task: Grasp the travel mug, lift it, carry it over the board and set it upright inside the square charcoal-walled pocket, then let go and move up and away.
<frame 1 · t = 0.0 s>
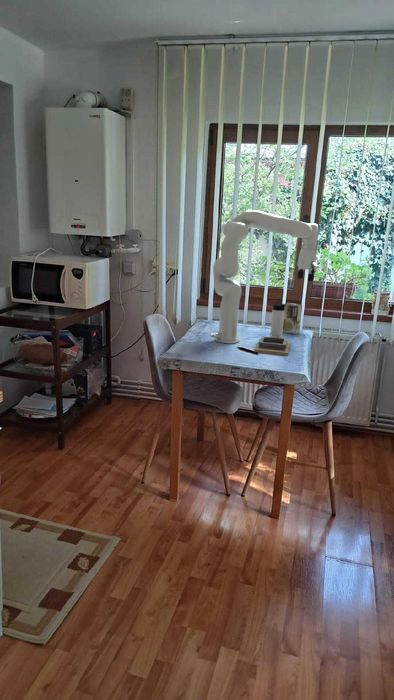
hand: (305, 279, 264), 31 cm above the table, tool pointing down, fingers open, 9 cm apart
travel mug: (276, 340, 260), on the table
coffee box: (290, 332, 280), on the table
pocket board: (272, 348, 245), on the table
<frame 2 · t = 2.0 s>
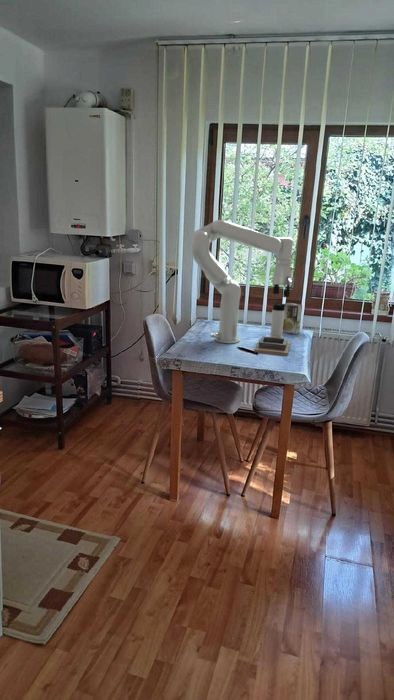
hand: (280, 295, 254), 24 cm above the table, tool pointing down, fingers open, 9 cm apart
nothing on the table moved.
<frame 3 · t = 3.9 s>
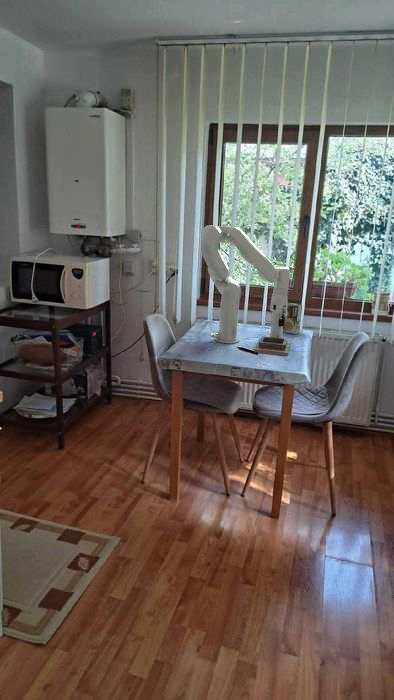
hand: (277, 324, 258), 9 cm above the table, tool pointing down, fingers closed on travel mug, 6 cm apart
travel mug: (276, 340, 260), on the table, touching gripper
everything else where it was.
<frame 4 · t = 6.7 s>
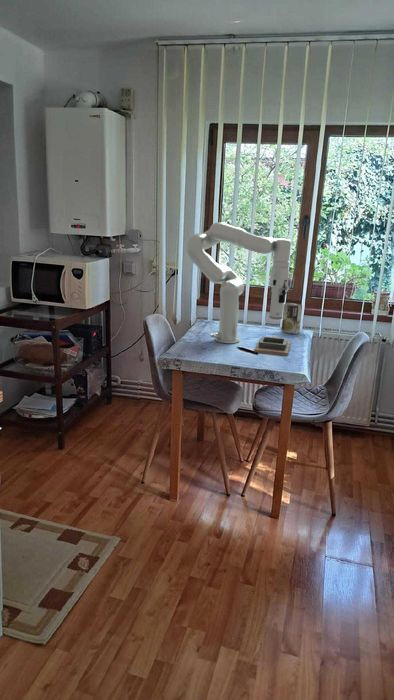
hand: (277, 301, 241), 23 cm above the table, tool pointing down, fingers closed on travel mug, 6 cm apart
travel mug: (275, 318, 244), point 15 cm above the table, touching gripper
everything else where it was.
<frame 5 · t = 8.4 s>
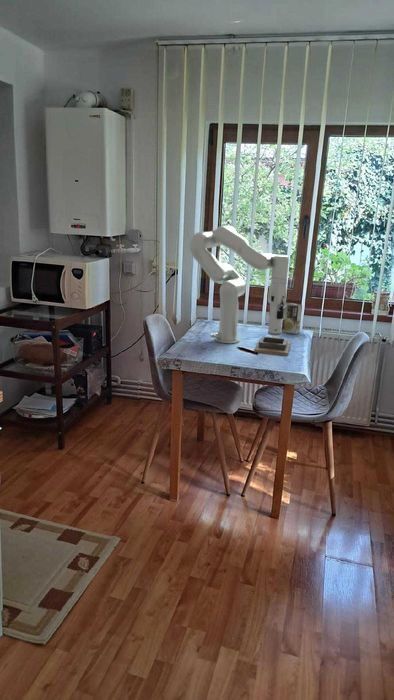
hand: (275, 317, 240), 16 cm above the table, tool pointing down, fingers closed on travel mug, 6 cm apart
travel mug: (274, 334, 243), point 7 cm above the table, touching gripper
everything else where it was.
when the fingers open (11 cm above the table, at t = 9.8 s): travel mug stays where it is, resting on pocket board.
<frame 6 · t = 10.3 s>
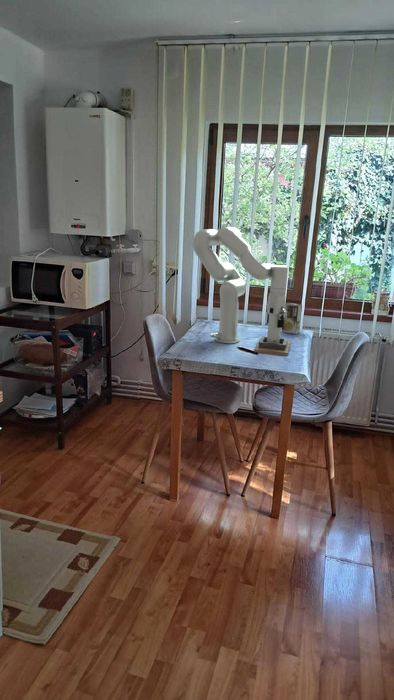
hand: (274, 325, 242), 12 cm above the table, tool pointing down, fingers open, 9 cm apart
travel mug: (273, 345, 244), point 1 cm above the table, touching pocket board
everything else where it was.
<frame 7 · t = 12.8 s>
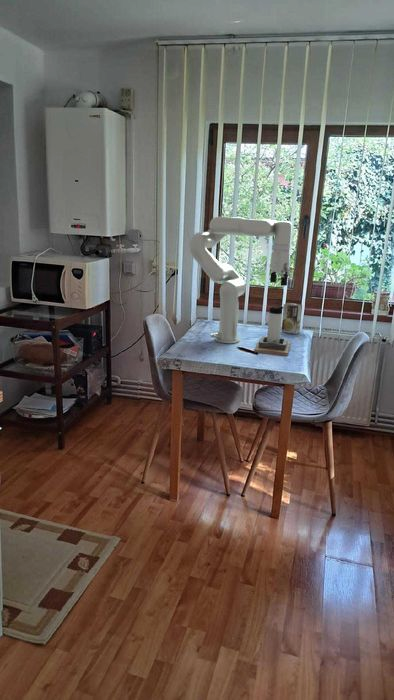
hand: (278, 283, 236), 32 cm above the table, tool pointing down, fingers open, 9 cm apart
nothing on the table moved.
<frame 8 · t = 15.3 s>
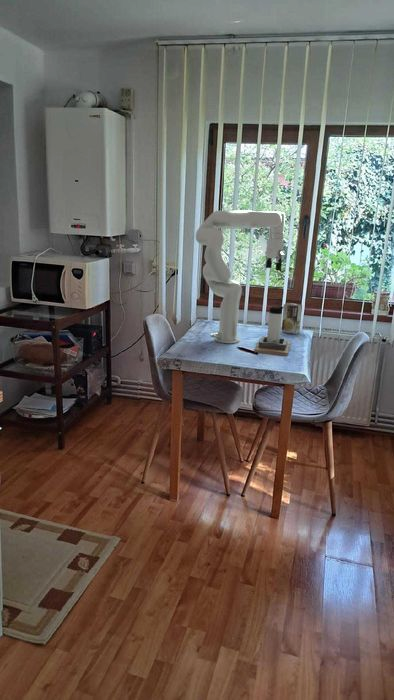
hand: (273, 269, 261), 36 cm above the table, tool pointing down, fingers open, 9 cm apart
nothing on the table moved.
at the end: travel mug 0.2 cm off-centre on the pocket board, point 1.3 cm above the pocket board's base; travel mug tilted 0°; the gripper is holding nothing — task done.
